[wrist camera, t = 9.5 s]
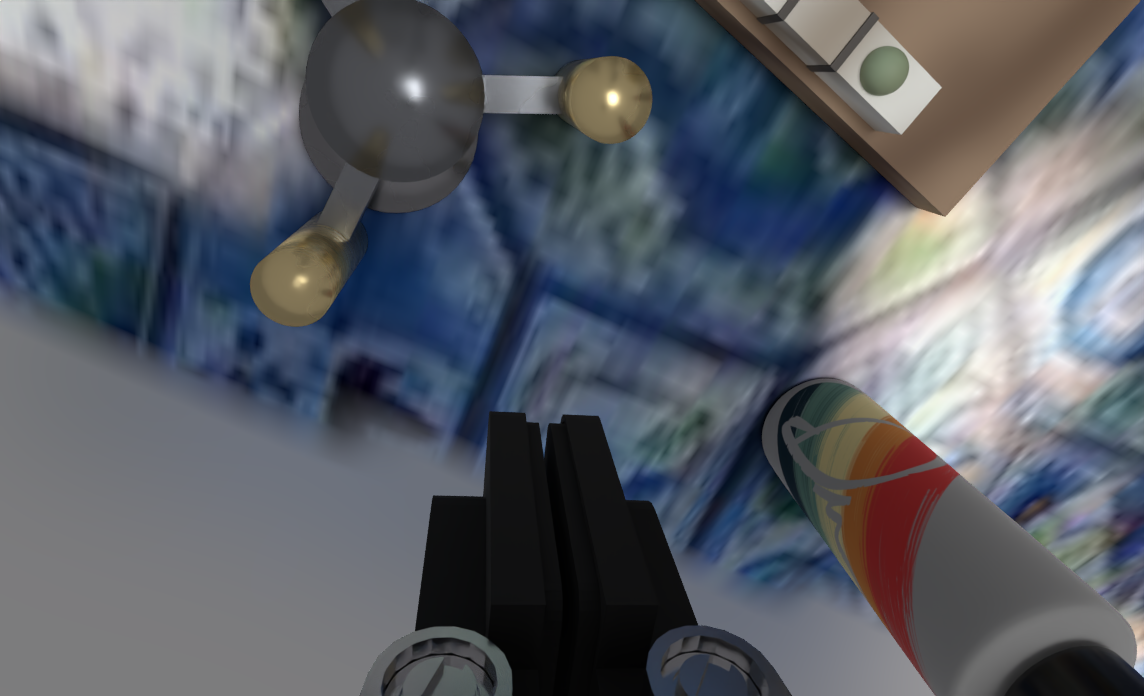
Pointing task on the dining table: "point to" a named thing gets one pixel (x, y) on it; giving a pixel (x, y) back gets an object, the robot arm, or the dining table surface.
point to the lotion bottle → (943, 557)
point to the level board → (969, 72)
